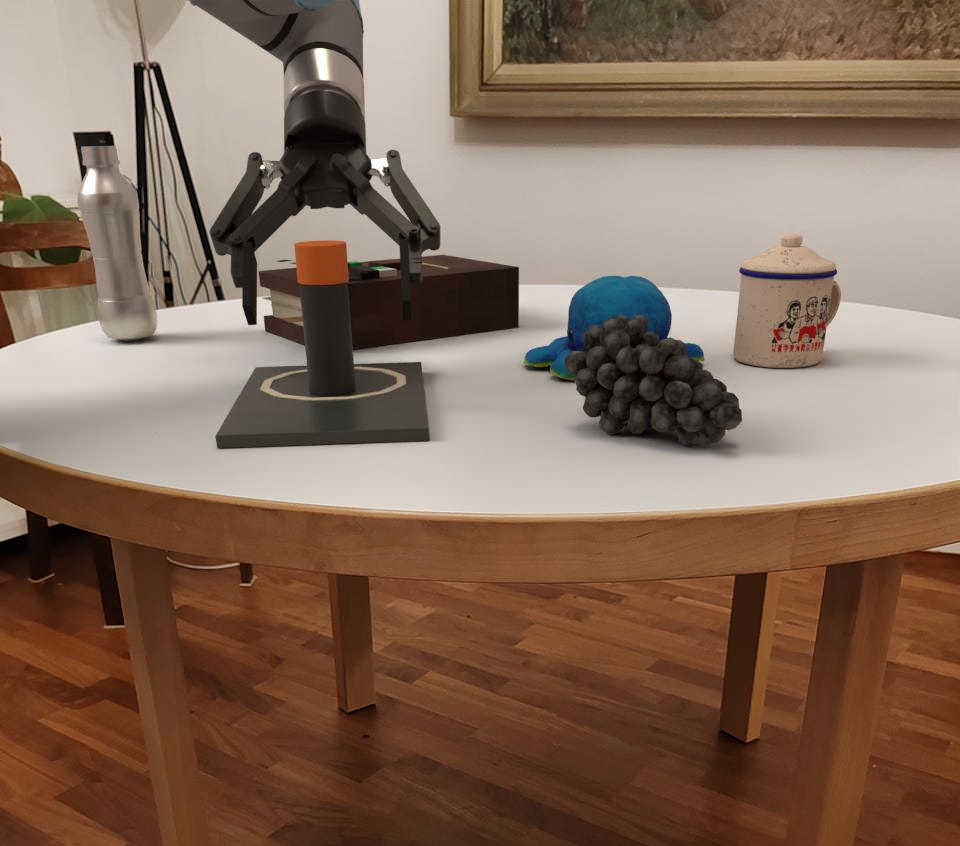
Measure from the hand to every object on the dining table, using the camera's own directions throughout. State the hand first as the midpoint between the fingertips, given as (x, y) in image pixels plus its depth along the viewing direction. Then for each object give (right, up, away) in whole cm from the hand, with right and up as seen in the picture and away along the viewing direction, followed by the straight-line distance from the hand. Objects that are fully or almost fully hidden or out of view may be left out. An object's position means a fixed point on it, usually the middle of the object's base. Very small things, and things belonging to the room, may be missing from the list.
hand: (328, 313), depth 85 cm
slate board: (0, -8, 0) cm, 8 cm away
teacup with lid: (+44, 0, +14) cm, 46 cm away
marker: (0, -7, 0) cm, 7 cm away
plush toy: (+26, -1, +12) cm, 29 cm away
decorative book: (+3, +9, +32) cm, 33 cm away
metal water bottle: (-27, +6, +28) cm, 40 cm away
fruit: (+26, -13, -10) cm, 31 cm away
